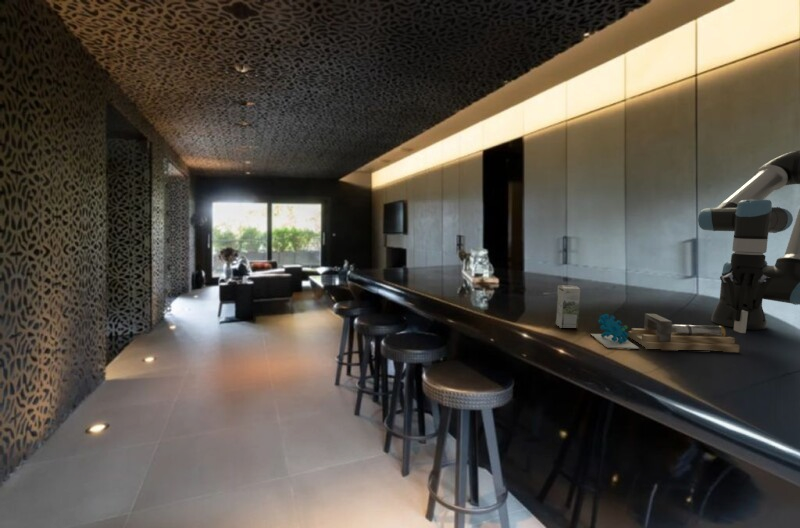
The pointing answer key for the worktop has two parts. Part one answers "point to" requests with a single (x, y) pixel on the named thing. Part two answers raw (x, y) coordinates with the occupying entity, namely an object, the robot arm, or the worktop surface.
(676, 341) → the stepped wooden platform
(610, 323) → the blue knobby toy
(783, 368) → the worktop surface
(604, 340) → the pad
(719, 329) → the shaft
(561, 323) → the syrup box
